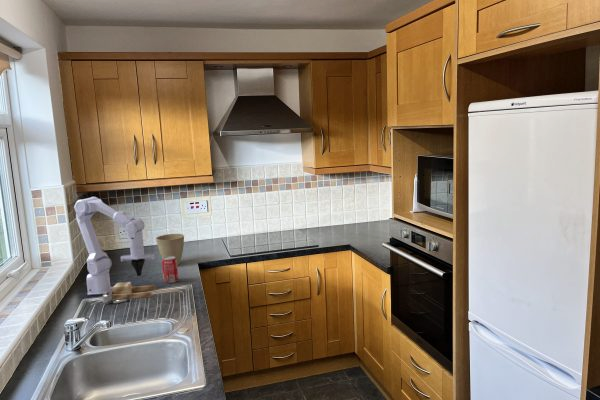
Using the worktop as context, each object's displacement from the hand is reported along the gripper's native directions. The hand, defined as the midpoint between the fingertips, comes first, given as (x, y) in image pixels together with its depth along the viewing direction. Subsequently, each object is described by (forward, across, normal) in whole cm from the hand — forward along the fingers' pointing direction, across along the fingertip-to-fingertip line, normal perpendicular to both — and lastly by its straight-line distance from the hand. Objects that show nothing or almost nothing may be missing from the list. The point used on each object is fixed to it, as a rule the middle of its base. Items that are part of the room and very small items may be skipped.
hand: (139, 275), depth 205 cm
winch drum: (+9, -12, -8) cm, 17 cm away
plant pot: (+9, +6, +44) cm, 45 cm away
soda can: (+9, +11, +15) cm, 21 cm away
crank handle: (+9, -6, -9) cm, 14 cm away
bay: (+9, -3, 0) cm, 9 cm away
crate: (+9, -8, 0) cm, 12 cm away
